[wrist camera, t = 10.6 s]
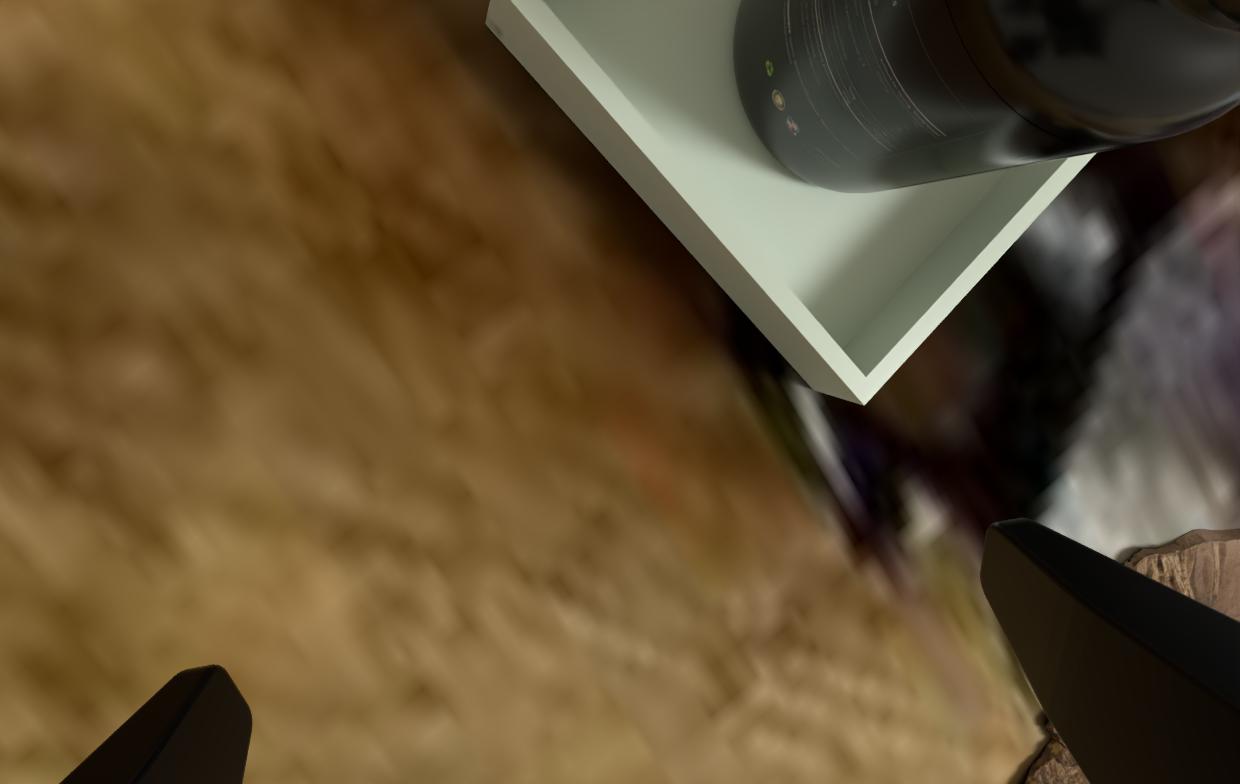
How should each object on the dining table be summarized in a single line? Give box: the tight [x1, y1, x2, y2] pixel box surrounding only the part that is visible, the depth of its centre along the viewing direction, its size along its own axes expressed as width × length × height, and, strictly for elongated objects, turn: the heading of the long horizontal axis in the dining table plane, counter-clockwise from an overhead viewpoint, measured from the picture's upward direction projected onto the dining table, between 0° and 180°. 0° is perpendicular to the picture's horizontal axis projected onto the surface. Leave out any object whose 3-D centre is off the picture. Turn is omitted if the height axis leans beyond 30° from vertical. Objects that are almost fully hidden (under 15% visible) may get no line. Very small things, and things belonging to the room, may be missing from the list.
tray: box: [485, 0, 1096, 405], centre depth 18 cm, size 13×13×2 cm
